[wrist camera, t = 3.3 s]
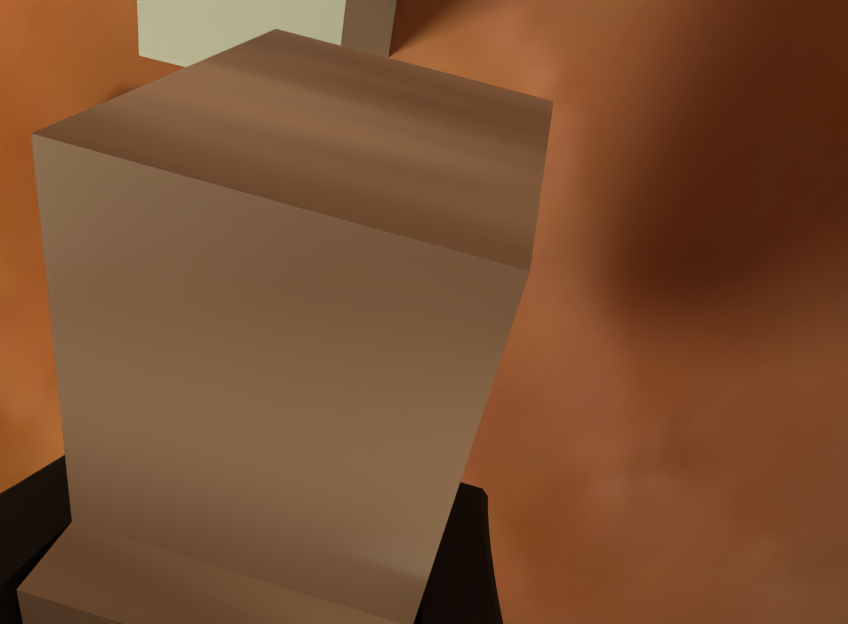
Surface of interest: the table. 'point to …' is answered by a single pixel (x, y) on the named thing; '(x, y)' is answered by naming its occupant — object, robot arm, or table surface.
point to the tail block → (258, 25)
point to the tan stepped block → (276, 330)
